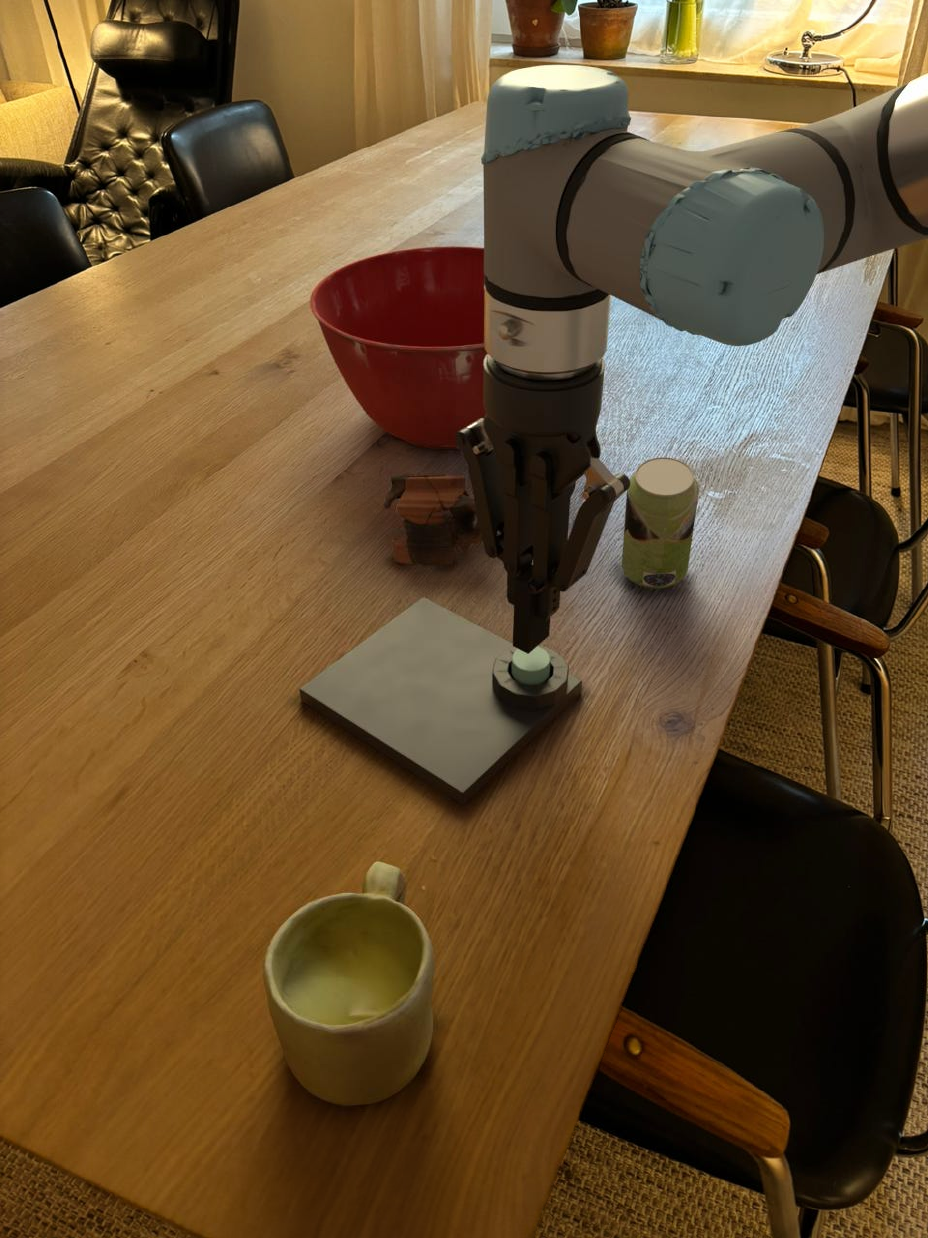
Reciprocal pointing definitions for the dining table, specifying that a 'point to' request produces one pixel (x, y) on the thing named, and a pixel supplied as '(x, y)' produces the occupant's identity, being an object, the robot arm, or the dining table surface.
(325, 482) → the dining table surface
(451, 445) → the mixing bowl
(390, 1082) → the mug
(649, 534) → the beverage can
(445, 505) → the pottery mug
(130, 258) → the dining table surface
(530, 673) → the power button
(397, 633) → the scale
